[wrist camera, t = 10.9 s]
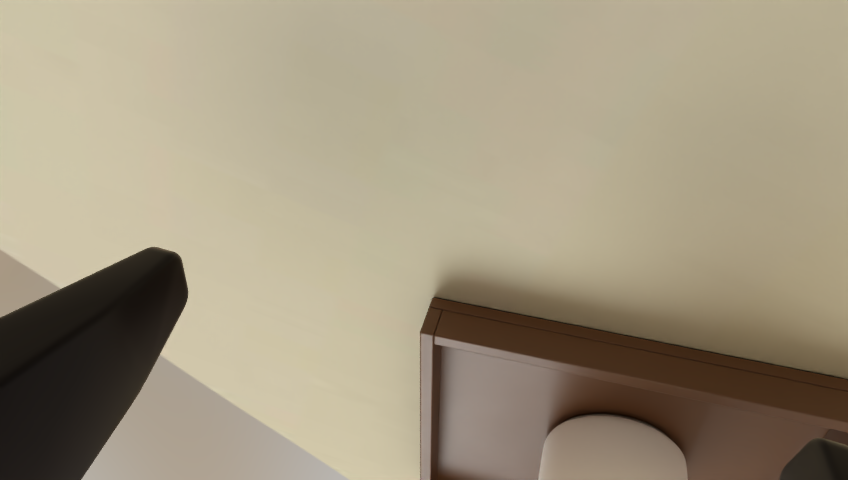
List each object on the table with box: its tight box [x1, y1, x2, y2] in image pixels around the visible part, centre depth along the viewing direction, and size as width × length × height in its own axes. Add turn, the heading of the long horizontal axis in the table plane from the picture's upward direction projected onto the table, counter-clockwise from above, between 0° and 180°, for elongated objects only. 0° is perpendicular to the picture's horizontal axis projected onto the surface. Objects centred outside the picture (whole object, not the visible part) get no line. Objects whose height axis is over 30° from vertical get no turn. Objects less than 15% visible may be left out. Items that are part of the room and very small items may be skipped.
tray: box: [420, 298, 848, 480], centre depth 30 cm, size 17×15×2 cm
